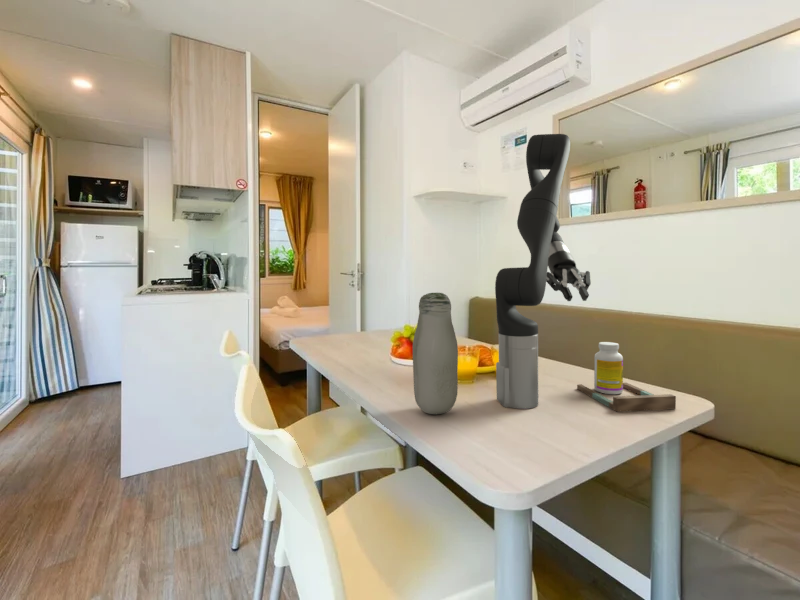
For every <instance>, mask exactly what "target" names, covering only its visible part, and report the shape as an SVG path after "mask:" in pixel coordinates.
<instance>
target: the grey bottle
mask: <svg viewBox="0 0 800 600" xmlns="http://www.w3.org/2000/svg"><path fill="white" fill-rule="evenodd" d="M418 312H419V313H418V318H417V323H416V329H415V331H414V335H413V341H412V370H413V372H412V375H413V393H414V399H415V403H416V404H417V407H419V409H420V410H421V411H422V412H424V413H426V414H429V415H440V414H441V415H442V414H445V413H447V412H448V411H450V410H452V408H453V407H454V405H455V403H456V401H457V397H458V389H459V388H458V387H459V385H458V384H459V383H458V370H459V369H458V367H459V366H458V365H459V359H458V357H459V351H458V350H459V347H458V340H457V337H456V332H455V329H454V325H453V321H452V320H453V318H452V303H451V300H450V298H449V297H448V295H447V294H446V293H445V294H444V293H443V292H429V293H426V294H423V295H422V296H421V297H420V299H419V302H418Z"/></svg>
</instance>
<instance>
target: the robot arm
mask: <svg viewBox="0 0 800 600" xmlns="http://www.w3.org/2000/svg"><path fill="white" fill-rule="evenodd" d="M570 153H571V140H570V137H569V136H568V134H564V133H545V134H534V135H532V136H531V137H530V138H529V140H528V141H527V147H526V152H525V162H526V169H527V175H528V180H529V185H530V190H529V191H528V192H527V193H526V194H525V196H524V197H523V199H522V201H521V203H520V205H519V211H518V217H517V220H516V222H517V223H516V225H517V229H518V231H519V234H520V235H521V238H522V239H523V241H524V242H525V245H526V247H527V248H528V251H529V253H530V261H529V265H528V266H527V267H525V266H524V267H523V266H522V267H521V266H520V267H503V268H501V269H500V270H499V271H498V272H497V274H496V277H495V282H494V283H495V285H494V289H495V290H494V291H495V292H494V294H495V304H496V305H495V307H496V322H497V328H498V362H496V364H495V369H496V370H495V371H496V375H495V376H496V378H495V379H496V382H495V384H496V387H495V388H496V400H497V401H498V403H499V404H501V406H503V408H512V409H521V410H522V409H523V410H524V409H525V410H527V409H532V408H536V407H537V406H538V405H539V324H538V323H537V321H535V320H533V319H531V318H528V317H526V316H524V315H522V314H521V313H520V311H518V309H517V306H518V307H519V306H520V307H521V306H522V307H536V306H538V305H540V304H541V303H542V301H543V299H544V296H545V292H546V286H547V285H549V286H550V287H551V288H552V290H553V291H555V292H558V291H560V292H561V294H562V296H563V297H564V299H565V300H567V302H571V301H572V300H573V294H572V291H571V289H570V288H569V287H568V284H570V285H571V286H572V287H573V288H576V290H577V291H578V293H579V296H580V298H581V300H582V301H583V302H586V301H587V299H588V298H589V297H590V294H589V292H588V290H589V287H590V286H591V282H592V281H591V272H590V271H589V270H585V272H582V271H580V269H578V267H577V264H576V261H575V259H574V257H573V255H572V254H571V252H570V250H569V248H568V246H567V245H566V243H564V241H563V238H562V236H561V235H560V234H559V233H558V232H559V229H560V227H561V226H560V225H561V224H560V221H559V219H558V216H557V215H558V211H559V210H558V209H559V204H560V203H559V200H560V194H561V188H562V185H563V184H562V183H563V180H564V176H565V171H566V168H567V164H568V160H569V156H570ZM542 170H543V171H545V170H547V171H548V170H549V171H548V173H547V174H546V175H545V176H544V175H543V173H542ZM548 269H549V271H548ZM546 284H547V285H546Z"/></svg>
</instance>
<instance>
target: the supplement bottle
mask: <svg viewBox="0 0 800 600" xmlns="http://www.w3.org/2000/svg"><path fill="white" fill-rule="evenodd" d="M598 349H599V351H597V352H596V353H595V354H594V367H593V368H594V375H593V376H594V377H593V378H594V381H593V382H594V383H593V385H594V386H593V387H594V391H595V392H597V393H599V394H604V395H605V394H606V395H620V394H622V393H623V391H624V390H623V389H624V388H623V383H624V357H623V355H622V354H621V353H619V349H620V344H619V343H617V342H612V341H600V342H598Z"/></svg>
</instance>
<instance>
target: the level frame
mask: <svg viewBox="0 0 800 600" xmlns="http://www.w3.org/2000/svg"><path fill="white" fill-rule="evenodd" d="M576 389H577V390H578V391H580V392H582V393H583V394H585V395H587V396H589V397H591V398H593V400H596V401H598V402H599V403H601V404H603V405H605V406H607V407H608V408H609V409H611V410H613V411H616V412H617V413H619V412H620V413H621V412H622V413H623V412H638V411H639V412H643V411H660V410H661V411H663V410H667V411H668V410H676V401H677V399H676V398H677V397H676V395H674V394H671V393H669V394H668V393H667V394H654V393H652V392H649V391H647V390H645V389H642V388H639V387H637V386H636V385H632V384H630V383H628V382H623V389H625V390H627V389H628V390H627V391H629V390H630V391H629V392H632V393H634V394H636V393H637V394H636V395H626V396H625V395H624V396H622V395H621V396H620V395H619V396H613V397H612V400H611V399H609V398H608V397H605V396H604V395H602V394H601V393H599V392H597V391H596V390H593V389H591V388H589V387H587V386H586V385H584V384H580V383H579V384H577V385H576ZM638 394H639V395H638Z"/></svg>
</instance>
